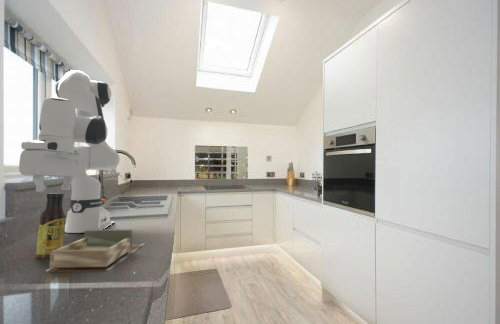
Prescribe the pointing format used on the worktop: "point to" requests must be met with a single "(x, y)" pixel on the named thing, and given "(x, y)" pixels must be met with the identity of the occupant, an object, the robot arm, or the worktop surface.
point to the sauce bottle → (51, 226)
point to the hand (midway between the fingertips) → (54, 190)
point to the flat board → (70, 269)
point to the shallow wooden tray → (93, 249)
